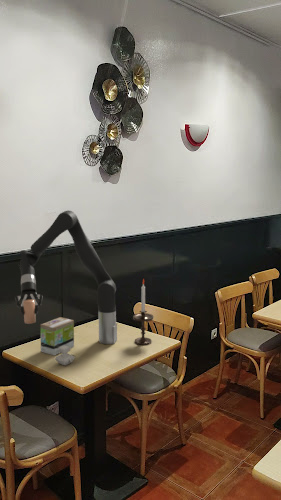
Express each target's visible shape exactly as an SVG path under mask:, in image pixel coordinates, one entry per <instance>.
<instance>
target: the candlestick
mask: <svg viewBox="0 0 281 500" xmlns="http://www.w3.org/2000/svg"><path fill="white" fill-rule="evenodd" d="M140 297H141V300H140V301H141V307H140V308H141V310H139V312H138V313H135V314H133V316H132V319H133V320H134V321H137V322H141V327H140V331H141V332H140V334H141V337H138V338H135V339H134V343H135V344H136V345H139V346H148V345H151V344H152V342H153V341H152V339H151V338H149V337H145V334H146V327H145V322H149V321H150V322H151V321H153V320H154V315H153V314H151V313H149V312H148V313H147V310H146V286H145V278H143V279H142V286H141V296H140Z"/></svg>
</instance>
